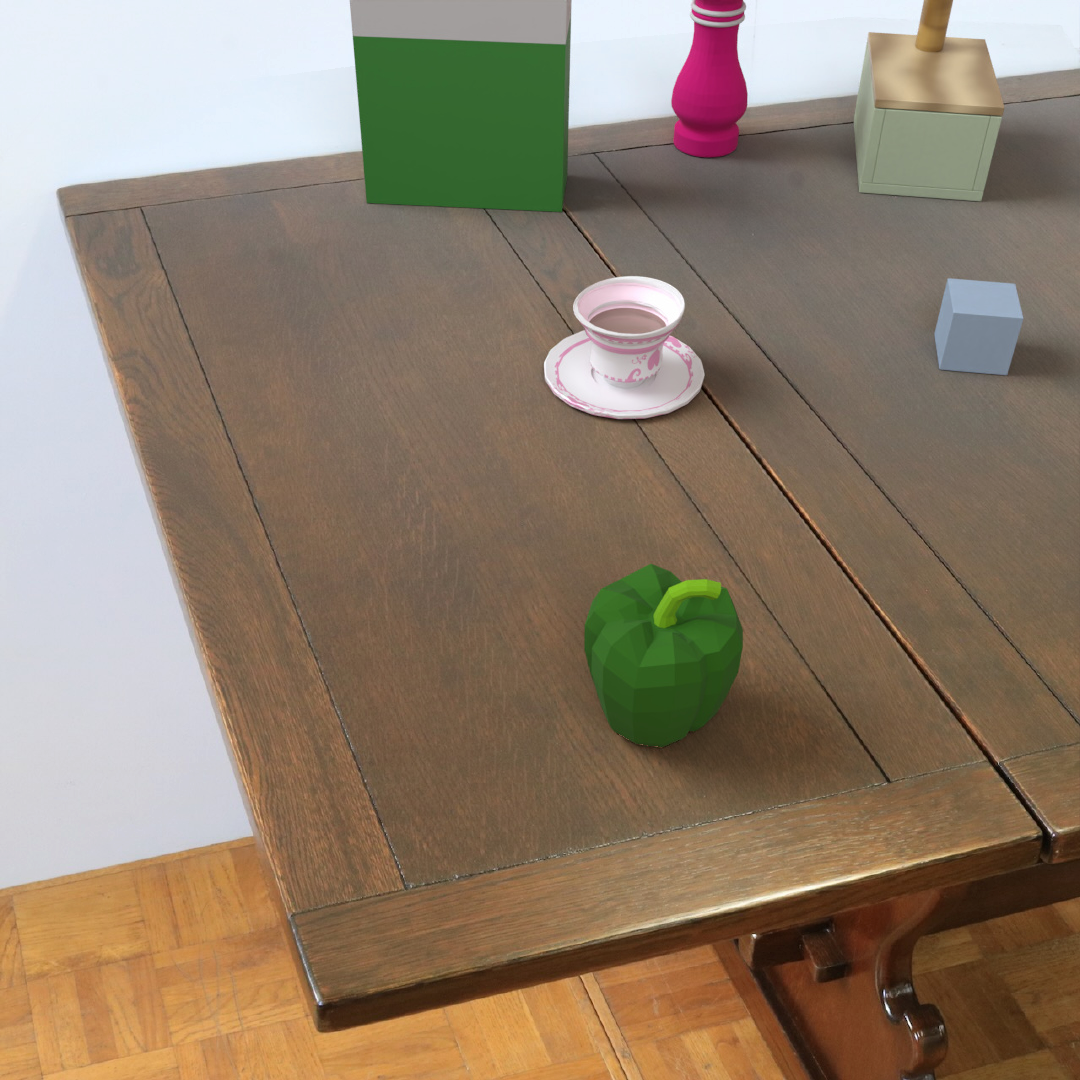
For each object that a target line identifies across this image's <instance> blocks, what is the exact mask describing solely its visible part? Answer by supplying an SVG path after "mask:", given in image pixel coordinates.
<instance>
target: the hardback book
mask: <svg viewBox="0 0 1080 1080" xmlns="http://www.w3.org/2000/svg"><path fill="white" fill-rule="evenodd" d="M349 6H350V7H349V9H350V18H351V19H350V21H351V22H350V23H351V32H352V33H351V34H352V45H353V56H354V65H355V66H354V68H355V69H354V70H355V78H356V79H355V80H356V81H355V82H356V92H357V93H356V94H357V104H358V116H359V128H360V138H361V141H360V142H361V151H362V152H361V153H362V163H363V164H362V165H363V176H364V177H363V178H364V187H365V189H364V190H365V197H366V198H365V199H366V204H380V205H402V206H425V207H448V208H465V209H467V208H468V209H487V210H488V209H489V210H490V209H491V210H508V211H509V210H511V211H513V210H514V211H532V212H533V211H534V212H554V213H563V207H564V202H565V201H564V200H565V193H566V187H567V179H568V167H569V165H568V163H569V162H568V161H569V160H568V159H569V121H570V120H569V119H570V84H571V83H570V80H571V79H570V78H571V77H570V76H571V43H572V42H571V41H572V40H571V37H572V0H349Z"/></svg>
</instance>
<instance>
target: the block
mask: <svg viewBox="0 0 1080 1080" xmlns="http://www.w3.org/2000/svg"><path fill="white" fill-rule="evenodd" d="M1023 315H1024V314H1023V310H1022V306H1021V302H1020V299H1019V295H1018V289H1017V285H1016V283H1011V282H1001V281H1000V282H998V281H988V280H987V281H986V280H973V279H961V278H951V277H949V278H948V277H947V280H946V283H945V288H944V292H943V296H942V301H941V304H940V309H939V313H938V317H937V320H936V321H937V322H936V326H935V329H934V342H935V348H936V355H937V363H938V369H939V371H950V372H951V371H952V372H963V373H974V374H975V373H976V374H984V375H985V374H988V375H997V376H998V375H1000V376H1008V374H1009V370H1010V367H1011V364H1012V360H1013V356H1014V353H1015V349H1016V346H1017V342H1018V339H1019V336H1020V333H1021V329H1022V325H1023V321H1024V319H1025V318H1024V316H1023Z"/></svg>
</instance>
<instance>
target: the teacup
mask: <svg viewBox="0 0 1080 1080" xmlns="http://www.w3.org/2000/svg"><path fill="white" fill-rule="evenodd" d="M572 305H573V306H572V310H573V314H574V316H575V318H576V319H577V320H578V321H579V323H580V324H581V326H582V327H583V330H581V331H578V332H576V333H573V334H572V335H569V336H567V337H564V338H563V339H561V340H560V341H559V342H558V343H557V344H556V345H554V346H553V347H552V348H551V349H550V350H549V352H548V353H547V356H546V358H545V360H544V362H543V373H544V381H545V383H546V384H547V386H548V387H549V389H550V390H551V392H552V393H553V395H554V396H556V397H557V398H558V399H560V400H561V401H563V402H564V403H565V404H566V405H568V406H570V407H571V408H573V409H577V410H580V411H582V412H584V413H587V414H590V415H592V416H596V417H597V416H598V417H603V418H608V419H609V418H610V419H615V420H639V419H640V420H643V419H649V418H653V417H658V416H662V415H667V414H670V413H673V412H674V411H677V410H679V409H680V408H682V407H685V406H686V405H688V404H689V403H690V402H691V401H692V400H693V399H694V398H696V396H697V395H698V394H699V393H700V392H701V389H702V386H703V384H704V380H705V377H706V375H705V369H704V366H703V361H702V359H701V358H700V357H699V356H698V354H696V352H695V351H694V350H693V349H692V347H690V346H689V345H688V344H686V343H684V342H682V340H679V338H676V337H674V336H673V335H671V334H672V332H673V331H674V330H676V328H677V327H678V326H679V325H680V323H681V322H682V319H683V315H684V313H685V309H686V302H685V299H684V297H683V295H682V293H681V292H680V291H679V289H677V288H676V287H674V286H673V285H671V284H670V283H668V282H665V281H663V280H660V279H657V278H653V277H647V276H639V275H626V276H615V277H610V278H607V279H603V280H600V281H597V282H595V283H592V284H590V285H589V286H587V287H585V288H584V289H583V290H582V291H581V292H580V293H578V295H577V296H576V297H575V299H574V302H573V304H572Z"/></svg>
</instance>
